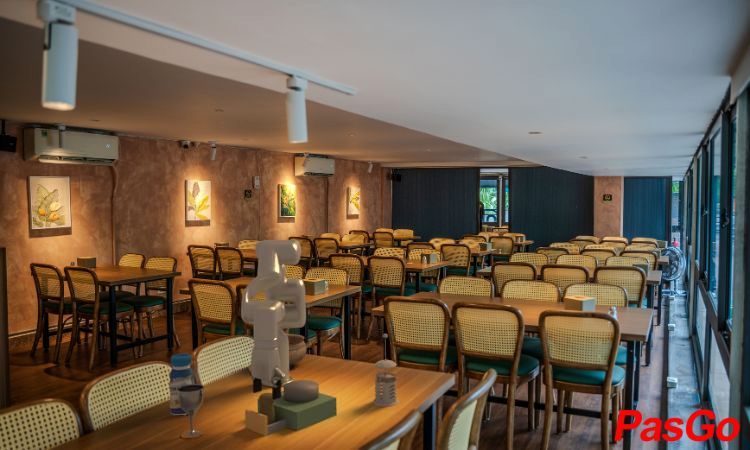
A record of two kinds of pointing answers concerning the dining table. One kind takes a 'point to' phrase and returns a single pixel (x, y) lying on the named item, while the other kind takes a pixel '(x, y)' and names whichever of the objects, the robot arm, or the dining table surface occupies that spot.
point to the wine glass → (191, 402)
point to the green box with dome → (294, 409)
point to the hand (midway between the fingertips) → (266, 395)
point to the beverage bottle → (179, 380)
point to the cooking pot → (296, 348)
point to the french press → (387, 387)
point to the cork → (267, 407)
